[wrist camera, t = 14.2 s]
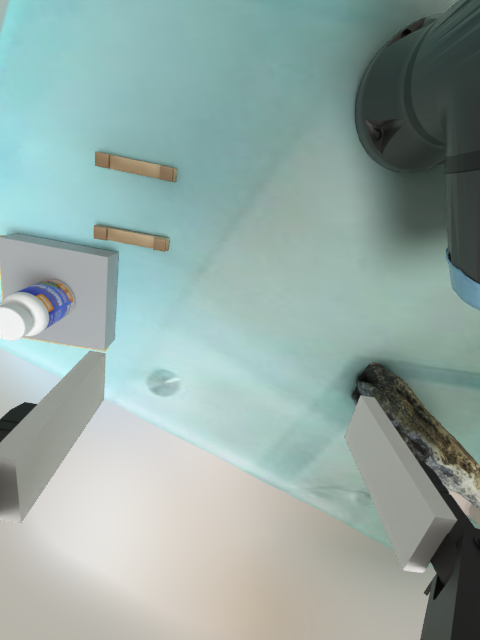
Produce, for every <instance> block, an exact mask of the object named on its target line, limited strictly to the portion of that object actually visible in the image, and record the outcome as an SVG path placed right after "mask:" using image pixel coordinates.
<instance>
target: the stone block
mask: <svg viewBox="0 0 480 640" xmlns="http://www.w3.org/2000/svg"><path fill="white" fill-rule="evenodd" d="M357 382H358V383H357V390H356V392H355V394H354V395H353V397H352V398H353V400H354V402H355V404H356V405H357V403H358V400H359V398H360V395H362V396H368V397H374V398H375V399H376V401H377V402H378V404H379V405H380V407H381V408H382V409H383V411H384V412H385V414H386V415H387V417H388V418H389V420H390V421H391V423H392V424H393V426H394V427H395V429H396V430H397V432H398V433H399V435H400V436H401V438H402V439H403V440H404V442H405V443H406V445H407V446H408V448H409V449H410V451H411V452H412V454H413V455H414V457H415V458H416V460H417V461H424V462H425V463H426V464H427V465H428V466H429V467H430V468H431V469H432V470H433V471H434V472H435V473H436V474H437V476H438V477H439V478H440V480H441V481H442V483H443V485H445V487H446V488H447V489H448V490H450V491H452V492H455V493H457V494H459V495H461V496H462V497H464V498H465V499H466V500H468V501H469V502H471V503H472V504H473V505H474V507H476V508H477V509H478V510H480V468H479V465H478V463H477V462H476V461H475V460H474V459H473V457H472V456H471V455H470V454H469V453H468V452H467V451H466V450H465V449H464V448H463V447H462V445H461V444H460V443H459V442H458V441H457V440H456V439H455V438H454V437H453V436H452V435H451V434H450V433H449V432H448V431H447V430H446V429H445V428H444V427H443V426H442V425H441V424H440V423H439V422H438V421H437V420H436V419H435V418H434V417H433V416H432V415H431V414H430V413H429V412H428V411H427V410H426V408H425V406H424V405H423V404H422V403H421V402H420V401H419V399H418V398H417V397H416V395H415V394H414V393H413V391H412V390H411V388H410V387H409V386H408V385H407V384H406V383H405V382H404V381H403V379H401V378H400V377H398V376H396V375H395V374H393V373H391V372H389V371H387V370H386V369H384V368H382V367H381V366H380V365H378V364H377V363H372V364H370V365H369V366H368V367H367V369H366V370H365V372H364V373H363V374H362V376H361V377H360V378H359V379H358V380H357Z"/></svg>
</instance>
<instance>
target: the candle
mask: <svg viewBox="0 0 480 640" xmlns="http://www.w3.org/2000/svg"><path fill="white" fill-rule="evenodd" d="M447 490H448V489H447ZM448 491H449V494H451V495H452V497H453V498H454V499H455V501H456V502H457V504H458V505H459V506H460V508H461V509H462V511H463V512H464V513H465V515H467V516H469V517H471V518H472V519H473V520H474V521H475V522H476V523H477V524H478V526H479V527H480V510H478V509H477V508H476V507H474V505H473V504H472V503H471V502H469V501H468V500H466V499H465V498H464V497H462V496H461V495H459V494H457V493H455V492H452V491H450V490H448Z"/></svg>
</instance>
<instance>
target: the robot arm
mask: <svg viewBox="0 0 480 640" xmlns="http://www.w3.org/2000/svg"><path fill="white" fill-rule="evenodd" d="M355 117H356V126H357V131H358V135H359V138H360V141H361V143H362V145H363V147H364V148H365V150H366V152H367V153H368V154H369V155H370V157H371V158H372V159H373V160H375V161H376V162H377V163H378V164H380V165H381V166H383V167H385V168H387V169H390V170H394V171H398V172H413V171H420V170H425V169H429V168H432V167H435V166H438V165H440V164H442V163H444V162H445V184H446V211H447V239H448V248H447V249H446V259H447V261H448V264H449V268H450V279H451V285H452V287H453V290H454V291H455V292H456V293H457V295H458V296H459V297H460V298H461V299H462V300H463V301H464V302H466V303H467V304H469V305H470V306H472V307H474V308H476V309H478V310H480V0H458V1H457V2H456V3H455V4H454V5H453V6H452V7H451V8H450V9H449V10H447V11H446V12H445V13H441V14H437V15H433V16H429V17H426V18H423V19H420V20H418V21H416V22H414V23H412V24H410V25H408V26H407V27H405V28H404V29H402V30H401V31H400V32H398V33H397V34H396V35H395V36H394V37H393V38H392V39H391V40H390V41H389V42H388V43H387V44H386V45H385V46H384V47H383V48H382V49H381V50H380V51H379V52H378V53H377V55H376V56H375V57H374V59H373V60H372V62H371V63H370V65H369V66H368V68H367V70H366V72H365V74H364V76H363V79H362V81H361V84H360V87H359V90H358V95H357V100H356V110H355ZM105 355H106V353H100V352H94V351H89V352H88V353H87V354H86V355H85V356H84V357H83V358H82V359H81V360H80V361H79V362H78V363H77V364H76V365H75V366H74V367H73V369H72V370H71V371H70V372H69V373H68V374H67V375H66V376H65V377H64V378H63V379H62V380H61V381H60V382H59V383H58V384H57V385H56V386H55V387H54V388H53V389H52V390H51V391H50V392H49V393H48V394H47V395H46V396H45V397H44V398H43V399H42V400H41V401H40V402H39V403H38V404H33V403H26V402H24V403H23V404H21V405H19V406H17V407H15V408H13V409H11V410H10V411H9V412H8V413H7V414H5V415H4V416H3V417H2V418H1V419H0V521H9V522H16V523H22V521H23V519H24V518H25V516H26V515H27V513H28V512H29V510H30V509H31V507H32V506H33V505H34V503H35V502H36V500H37V499H38V497H39V496H40V494H41V493H42V491H43V490H44V488H45V487H46V485H47V484H48V482H49V481H50V479H51V477H52V476H53V475H54V473H55V472H56V470H57V469H58V467H59V466H60V464H61V463H62V461H63V460H64V458H65V457H66V455H67V454H68V452H69V451H70V449H71V448H72V446H73V445H74V443H75V442H76V440H77V439H78V437H79V436H80V434H81V433H82V431H83V430H84V428H85V427H86V425H87V424H88V422H89V421H90V419H91V418H92V417H93V415H94V414H95V412H96V411H97V409H98V408H99V406H100V405H101V403H102V401H103V400H104V382H105ZM344 437H345V439H346V442H347V444H348V446H349V449H350V451H351V453H352V455H353V458H354V460H355V462H356V464H357V467H358V469H359V471H360V474H361V476H362V478H363V480H364V483H365V485H366V487H367V489H368V492H369V494H370V496H371V499H372V501H373V503H374V505H375V508H376V510H377V512H378V514H379V517H380V519H381V521H382V524H383V526H384V528H385V530H386V533H387V535H388V537H389V539H390V542H391V544H392V546H393V549H394V551H395V553H396V555H397V558H398V560H399V562H400V564H401V567H402V569H403V570H405V571H413V572H422V573H423V572H424V571H425V569H426V568H427V566H428V565H429V563H430V562H431V563H432V565H433V567H434V569H435V571H436V572H437V574H436V575H435V577H434V578H433V580H432V581H431V582H430V584H429V585H428V587H427V589H426V590H425V592H424V593H425V594H426V595H428V594H429V592H430V595H429V600H428V605H427V610H426V614H425V619H424V624H423V629H422V634H421V639H420V640H480V529H477V528H475V527H474V526H473V525H472V523H471V522H470V520H469V519H468V518H467V516H466V515H465V513H464V512H463V511H462V509H461V508H460V506H459V505H458V504H457V502H456V501H455V499H454V498H453V497H452V495H451V494H449V491H448V490H447V488H446V487H445V485H443V483H442V481H441V480H440V478H439V477H438V476H437V474H436V473H435V472H434V471H433V470H432V469H431V468H430V467H429V466H428V465H427V464H426V463H425V462H424V461H417V460H416V458H415V457H414V455H413V454H412V452H411V451H410V449H409V448H408V446H407V445H406V443H405V442H404V440H403V439H402V438H401V436H400V435H399V433H398V432H397V430H396V429H395V427H394V426H393V424H392V423H391V421H390V420H389V418H388V417H387V415H386V414H385V412H384V411H383V409H382V408H381V407H380V405H379V404H378V402H377V401H376V399H375V398H374V397H368V396H362V395H360V398H359V400H358V403H357V405H356V408H355V410H354V413H353V416H352V418H351V421H350V423H349V426H348V428H347V431H346V433H345V436H344Z"/></svg>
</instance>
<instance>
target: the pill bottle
mask: <svg viewBox="0 0 480 640" xmlns="http://www.w3.org/2000/svg"><path fill="white" fill-rule="evenodd" d="M74 305H75V298H74V295H73V293H72V291H71V290H70V288H69V287H68V286H67V285H65V284H64V283H62V282H60V281H57V280H44V281H41V282H39V283H37V284H34V285H32V286H29V287H27V288H25V289H22V290H20V291H17V292H15V293H12V294H10V295H8V296H7V297H5V298H4V299H3V300H2V302H1V303H0V337H1V338H3V339H5V340H17V339H20V338H22V337H23V336H34V335H37V334H39V333H41V332H42V331H44V330H45V329H47V328H48V327H50V326H51V325H53V324H54V323H56V322H57V321H59V320H61V319H62V318H64V317H65V316H66V315H68V314H69V313H70V312H71V311H72V310H73V308H74Z"/></svg>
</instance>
